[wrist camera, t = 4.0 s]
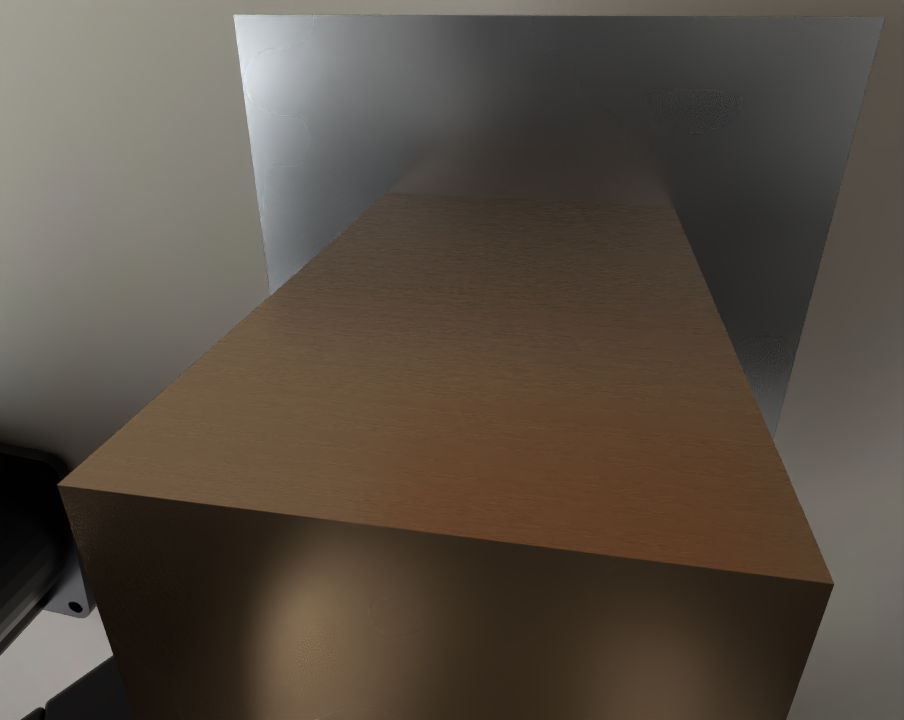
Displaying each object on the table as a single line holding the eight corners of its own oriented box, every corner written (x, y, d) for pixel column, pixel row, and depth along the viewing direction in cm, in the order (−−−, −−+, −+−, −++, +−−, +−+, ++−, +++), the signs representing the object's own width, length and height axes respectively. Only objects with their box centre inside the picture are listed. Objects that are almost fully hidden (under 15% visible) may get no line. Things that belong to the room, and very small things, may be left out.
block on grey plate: (684, 717, 13) (762, 1314, 7) (335, 660, 14) (148, 1135, 8) (857, 15, 7) (1908, 33, 2) (262, 15, 9) (-480, 21, 3)
